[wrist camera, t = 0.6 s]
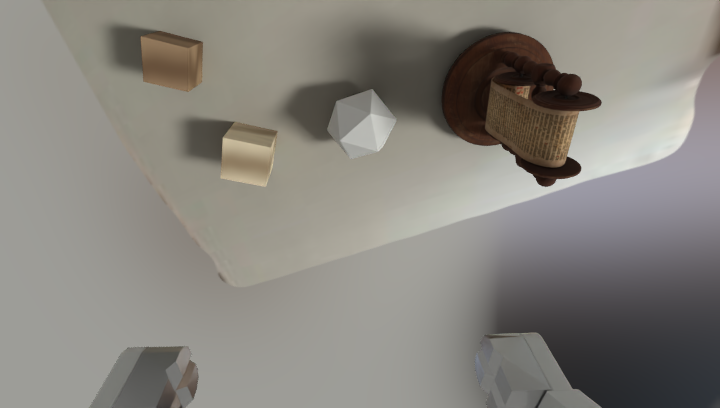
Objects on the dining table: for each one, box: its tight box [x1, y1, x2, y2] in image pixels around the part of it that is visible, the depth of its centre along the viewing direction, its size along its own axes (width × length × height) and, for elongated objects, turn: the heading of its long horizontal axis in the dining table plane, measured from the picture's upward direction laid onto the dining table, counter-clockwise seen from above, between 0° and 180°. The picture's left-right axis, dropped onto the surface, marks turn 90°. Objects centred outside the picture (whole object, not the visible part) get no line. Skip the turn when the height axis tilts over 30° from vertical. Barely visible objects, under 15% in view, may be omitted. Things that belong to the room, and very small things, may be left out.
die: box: [327, 89, 397, 159], centre depth 46 cm, size 8×9×10 cm
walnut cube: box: [141, 31, 203, 92], centre depth 42 cm, size 5×5×5 cm
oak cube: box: [221, 122, 277, 187], centre depth 49 cm, size 6×6×6 cm
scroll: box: [442, 32, 602, 187], centre depth 40 cm, size 15×15×20 cm
